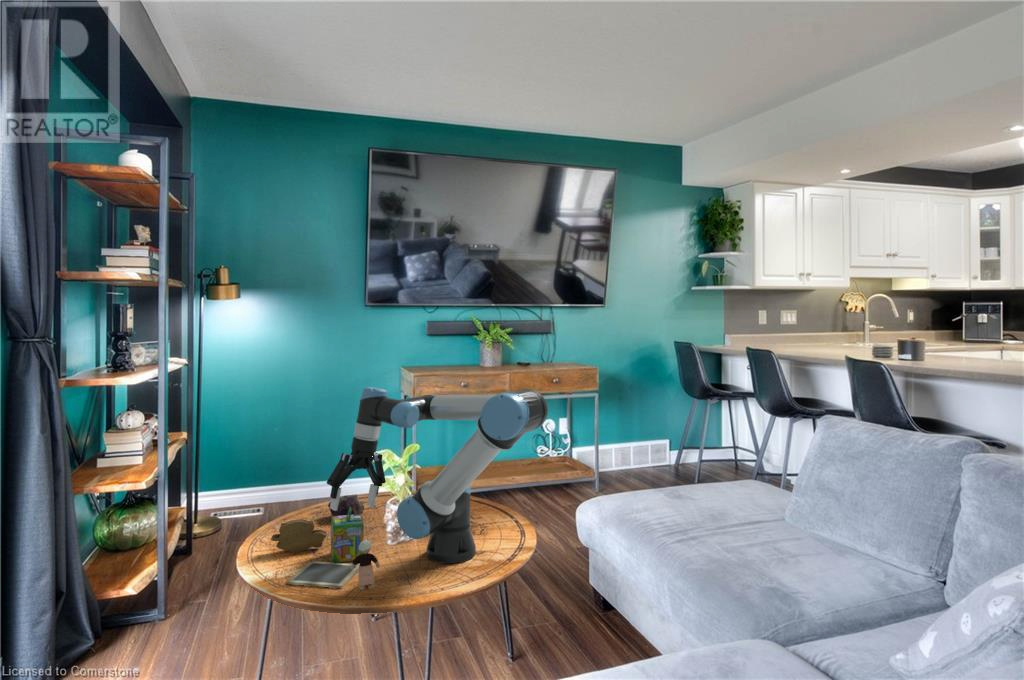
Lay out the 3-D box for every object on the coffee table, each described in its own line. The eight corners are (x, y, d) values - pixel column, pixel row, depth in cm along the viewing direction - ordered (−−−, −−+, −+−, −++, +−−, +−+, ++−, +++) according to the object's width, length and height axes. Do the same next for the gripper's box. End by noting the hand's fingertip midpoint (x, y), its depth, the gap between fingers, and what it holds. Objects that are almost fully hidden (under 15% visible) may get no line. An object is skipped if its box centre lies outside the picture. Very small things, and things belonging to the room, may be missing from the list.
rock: (336, 517, 217) (326, 525, 206) (333, 494, 217) (323, 502, 207) (366, 512, 216) (358, 521, 206) (363, 490, 216) (354, 497, 206)
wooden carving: (326, 544, 186) (326, 514, 185) (326, 550, 181) (326, 518, 181) (271, 551, 180) (271, 519, 180) (270, 556, 176) (269, 524, 176)
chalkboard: (362, 567, 168) (362, 564, 168) (341, 588, 154) (341, 585, 154) (311, 563, 171) (311, 561, 171) (285, 584, 157) (285, 581, 157)
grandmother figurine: (377, 581, 159) (377, 536, 159) (380, 587, 155) (380, 540, 155) (348, 587, 155) (348, 540, 155) (352, 593, 152) (352, 545, 152)
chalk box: (330, 553, 179) (330, 505, 179) (360, 549, 182) (360, 502, 182) (332, 564, 170) (332, 514, 170) (364, 560, 174) (364, 511, 173)
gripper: (389, 436, 187) (376, 501, 186) (323, 434, 167) (309, 507, 166) (404, 441, 182) (391, 508, 181) (339, 439, 163) (324, 514, 162)
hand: (352, 507), depth 174 cm, fingers open, 13 cm apart
